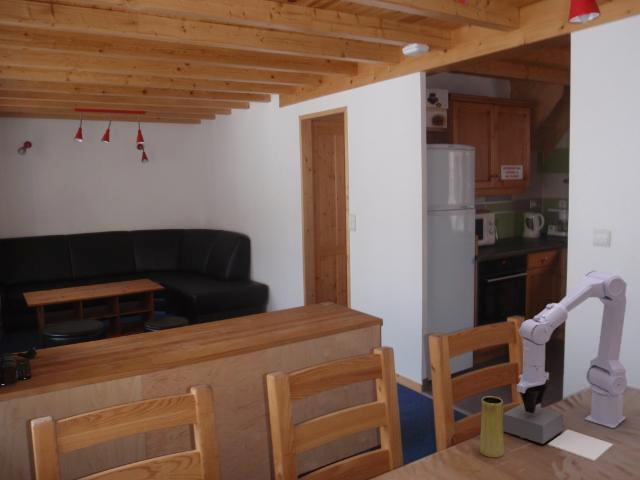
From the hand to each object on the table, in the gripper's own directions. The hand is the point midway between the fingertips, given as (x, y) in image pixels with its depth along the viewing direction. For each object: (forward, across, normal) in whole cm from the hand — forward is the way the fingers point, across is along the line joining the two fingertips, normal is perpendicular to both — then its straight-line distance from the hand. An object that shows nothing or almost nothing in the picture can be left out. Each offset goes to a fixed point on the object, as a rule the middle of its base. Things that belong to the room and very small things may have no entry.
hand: (532, 410), depth 153 cm
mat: (+6, -2, +12) cm, 14 cm away
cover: (+6, 0, 0) cm, 6 cm away
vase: (+7, +18, -2) cm, 19 cm away
